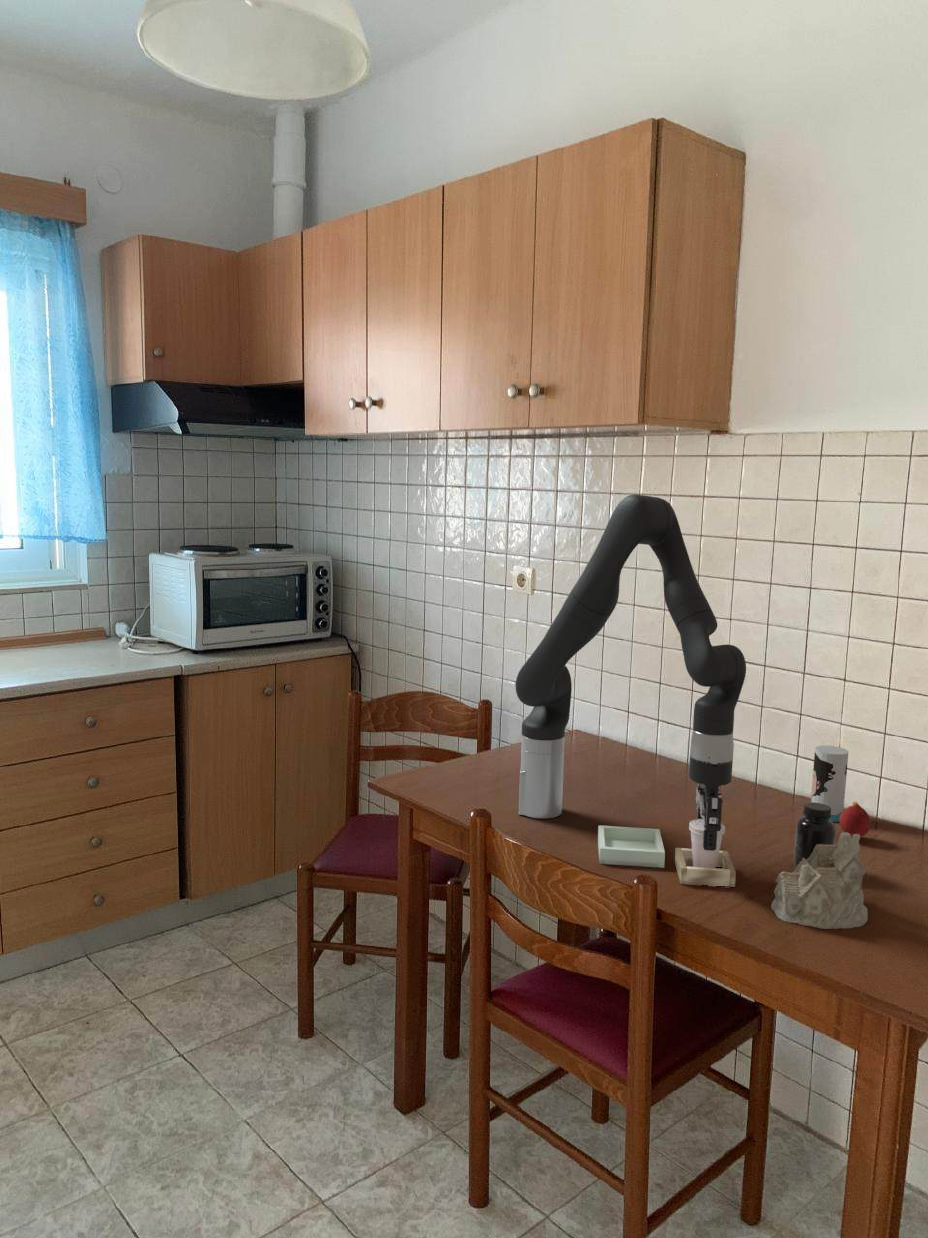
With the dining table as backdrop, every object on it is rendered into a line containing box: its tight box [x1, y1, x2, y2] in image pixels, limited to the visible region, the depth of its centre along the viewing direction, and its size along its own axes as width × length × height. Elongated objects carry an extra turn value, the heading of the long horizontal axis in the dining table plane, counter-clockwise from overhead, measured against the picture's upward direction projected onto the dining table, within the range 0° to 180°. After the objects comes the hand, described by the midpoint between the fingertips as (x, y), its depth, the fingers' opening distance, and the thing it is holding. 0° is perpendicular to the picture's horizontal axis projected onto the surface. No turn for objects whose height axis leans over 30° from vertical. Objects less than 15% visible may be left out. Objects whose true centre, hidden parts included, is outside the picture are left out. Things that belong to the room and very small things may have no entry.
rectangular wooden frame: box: [674, 847, 737, 888], centre depth 170 cm, size 10×10×3 cm
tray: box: [597, 825, 666, 869], centre depth 179 cm, size 12×12×3 cm
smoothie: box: [688, 818, 726, 868], centre depth 169 cm, size 6×6×14 cm
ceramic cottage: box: [770, 831, 869, 930], centre depth 157 cm, size 16×16×15 cm
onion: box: [839, 800, 871, 838], centre depth 189 cm, size 6×6×8 cm
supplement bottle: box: [793, 802, 836, 867], centre depth 174 cm, size 7×7×12 cm
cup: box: [810, 745, 849, 823], centre depth 201 cm, size 7×7×15 cm
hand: (706, 840), depth 169 cm, fingers open, 8 cm apart
